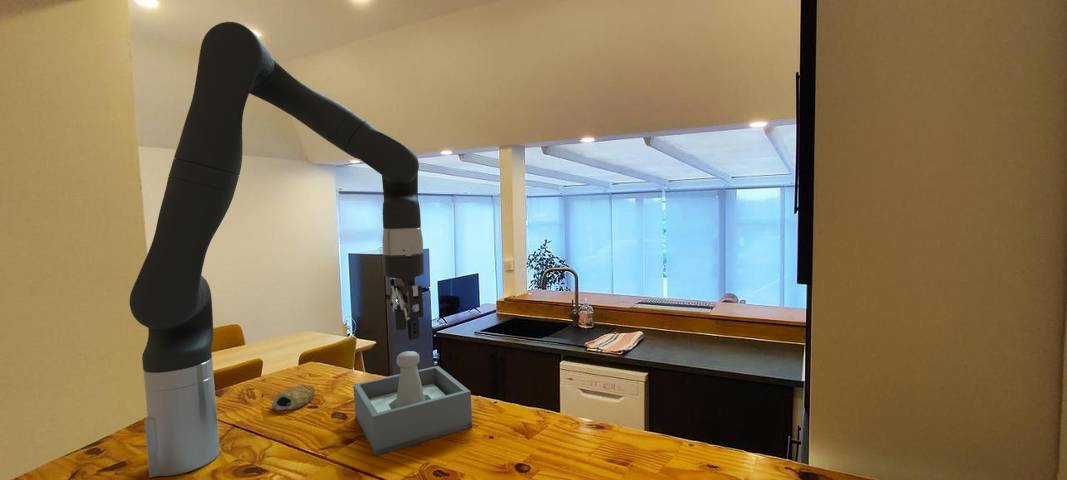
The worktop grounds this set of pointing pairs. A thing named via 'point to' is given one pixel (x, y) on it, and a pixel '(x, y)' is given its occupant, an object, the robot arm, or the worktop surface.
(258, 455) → the worktop surface
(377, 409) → the bore box
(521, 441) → the worktop surface
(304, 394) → the ridged seashell
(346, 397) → the worktop surface
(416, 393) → the salt shaker
